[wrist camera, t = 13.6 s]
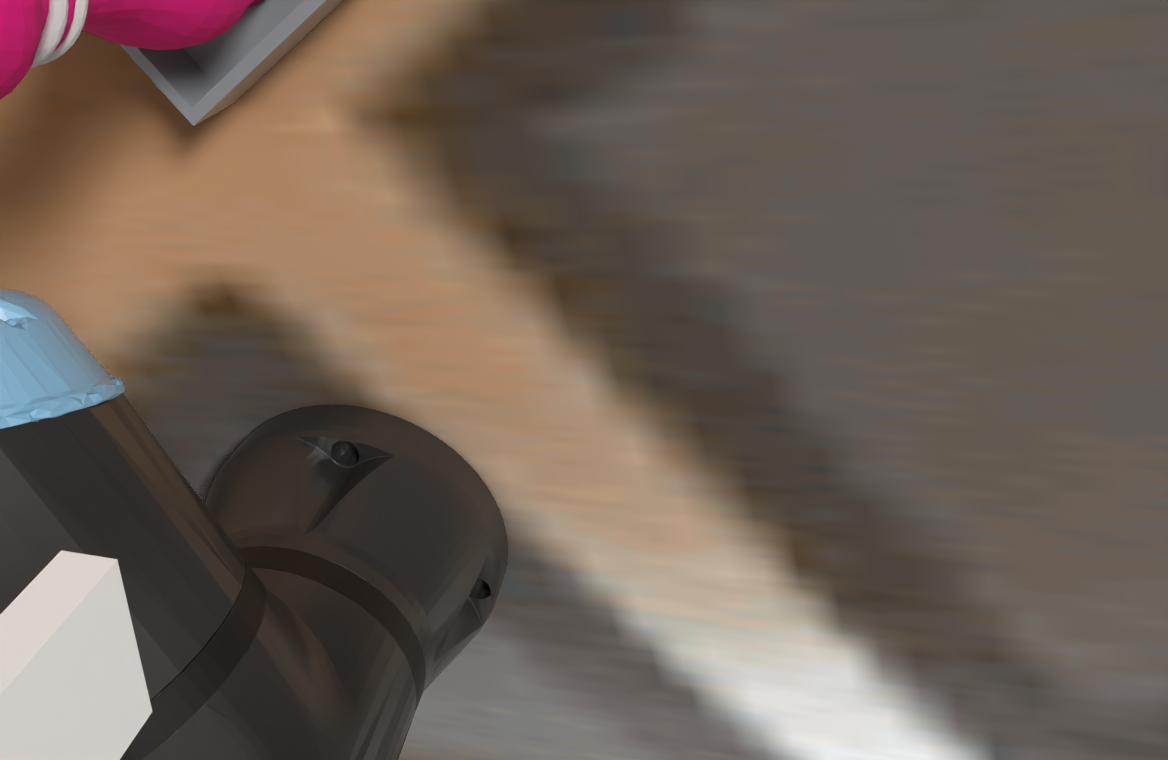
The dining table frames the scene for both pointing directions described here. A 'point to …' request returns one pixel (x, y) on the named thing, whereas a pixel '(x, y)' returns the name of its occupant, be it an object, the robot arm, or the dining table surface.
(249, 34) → the tray
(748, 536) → the dining table surface
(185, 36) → the pepper mill
